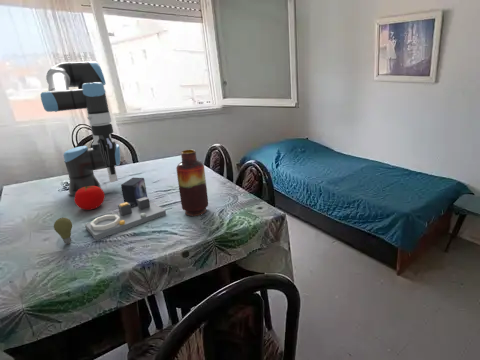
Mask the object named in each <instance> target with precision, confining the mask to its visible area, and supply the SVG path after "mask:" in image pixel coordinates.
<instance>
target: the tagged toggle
mask: <svg viewBox="0 0 480 360" xmlns="http://www.w3.org/2000/svg"><path fill="white" fill-rule="evenodd" d="M117 208H118V211H119V212H120V214H121V215H122V216H124V215H127V214H130V213H132V210H131V209H132V206H131V205H130V204H129V203H128V202H125V203H124V202H122V203H119V205H118V204H117ZM119 212H118V213H119Z"/></svg>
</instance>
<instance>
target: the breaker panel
mask: <svg viewBox="0 0 480 360" xmlns="http://www.w3.org/2000/svg"><path fill="white" fill-rule="evenodd" d="M149 203H150V207H148V208H145V209H142V210H141V209H140V208H138V206H134V207H131V210H132V213H130V214H127V215H124V216H122V215H121V214H120V212H118V213H113V214H105V215H102V216H101V215H100V216H98V217H95V219H93V220H92V221H90V222H86V223H85V224H84V225H85V228H86V230H87V231H88V233H90V235H91V236H92V237H93V238H94V240H95V241H99V240H101V239H103V238H106V237H109V236H111V235H114V234H117V233H119V232H122V231H125V230H128V229H130V228H133V227H136V226H138V225H141V224H143V223H147V222H149V221H152V220H154V219H157V218H160V217H162V216H165V215H167V212H166V209H165V208H163V207H161V206H159V205H158V204H156V203H155V202H153V201H149Z"/></svg>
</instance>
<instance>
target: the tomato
mask: <svg viewBox="0 0 480 360" xmlns="http://www.w3.org/2000/svg"><path fill="white" fill-rule="evenodd" d="M73 200H74V203H75V205H76V206H77V207H78V208H79V209H81V210H95V209H97V208H99V207H100V206H102V205H103V203H104V200H105V192H104V190H103V189H102V188H100V187H97V186H94V185H93V186H86V187H85V186H84V187H83V188H81V189H79V190H78V191H77V192H76V194H75V196H74V199H73Z"/></svg>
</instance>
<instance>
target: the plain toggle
mask: <svg viewBox="0 0 480 360" xmlns="http://www.w3.org/2000/svg"><path fill="white" fill-rule="evenodd" d="M137 203H138V205H137V207H138V208H140V209H141V210H142V209H145V208H148V207H150V198H149V197H148V196H147V197H143V198H140V199H137Z"/></svg>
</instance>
